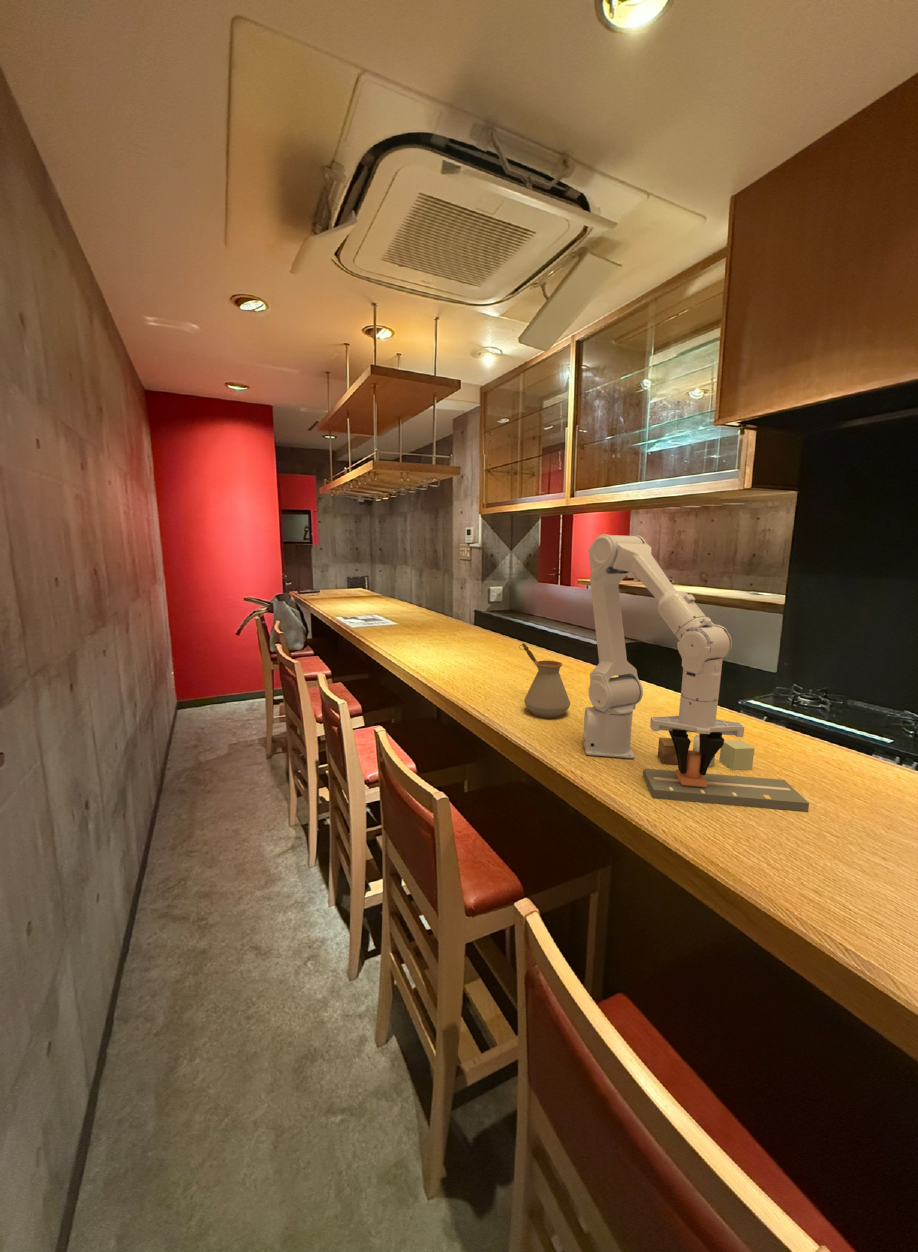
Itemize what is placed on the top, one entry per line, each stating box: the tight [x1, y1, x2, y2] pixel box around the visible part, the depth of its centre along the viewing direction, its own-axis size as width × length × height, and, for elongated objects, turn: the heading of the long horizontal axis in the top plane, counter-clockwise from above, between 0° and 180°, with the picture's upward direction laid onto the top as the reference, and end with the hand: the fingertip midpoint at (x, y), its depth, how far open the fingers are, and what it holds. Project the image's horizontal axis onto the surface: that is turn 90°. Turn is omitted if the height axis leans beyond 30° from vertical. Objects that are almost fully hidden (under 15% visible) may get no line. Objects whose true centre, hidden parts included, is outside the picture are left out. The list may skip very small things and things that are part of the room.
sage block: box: [718, 739, 755, 772], centre depth 95 cm, size 4×4×4 cm
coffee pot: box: [518, 642, 571, 719], centre depth 127 cm, size 21×12×15 cm, turn 18°
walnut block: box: [657, 737, 678, 766], centre depth 97 cm, size 4×4×4 cm
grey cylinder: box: [692, 734, 716, 769], centre depth 96 cm, size 4×4×5 cm
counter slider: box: [674, 749, 707, 787], centre depth 85 cm, size 4×4×5 cm
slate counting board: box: [642, 767, 810, 813], centre depth 84 cm, size 24×8×2 cm, turn 81°
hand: (691, 771), depth 85 cm, fingers closed on counter slider, 3 cm apart
